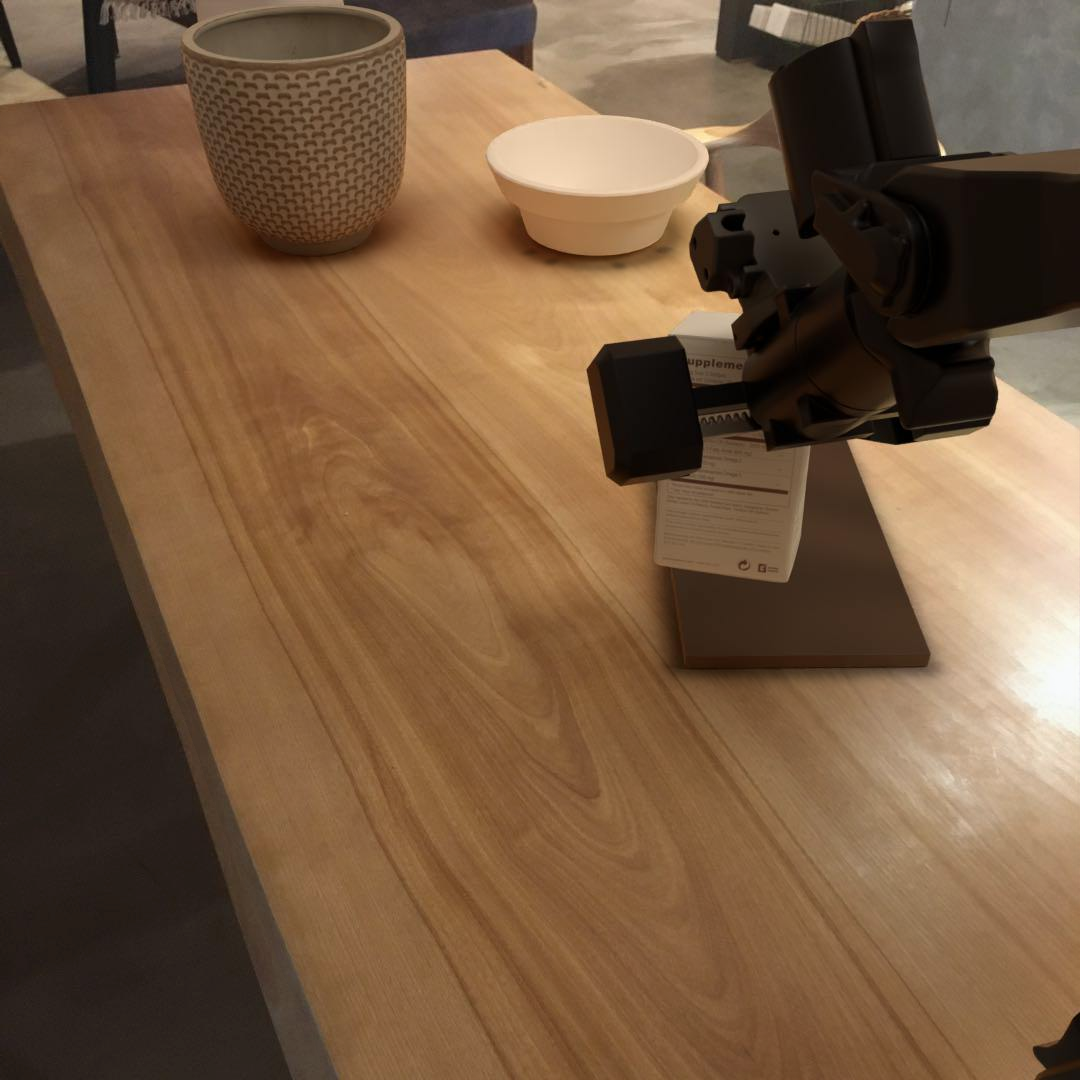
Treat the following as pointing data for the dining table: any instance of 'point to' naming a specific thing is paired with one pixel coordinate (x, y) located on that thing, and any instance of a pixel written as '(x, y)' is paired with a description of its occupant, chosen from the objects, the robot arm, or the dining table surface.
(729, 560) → the white packaging box
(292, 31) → the planter
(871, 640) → the board
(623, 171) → the bowl
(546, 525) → the dining table surface
